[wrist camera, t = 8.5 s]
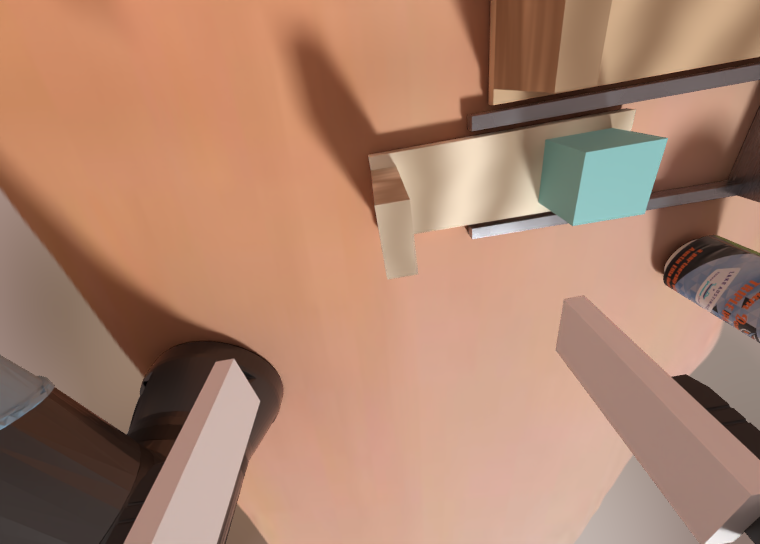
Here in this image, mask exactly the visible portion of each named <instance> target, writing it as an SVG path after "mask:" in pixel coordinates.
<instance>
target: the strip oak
mask: <svg viewBox="0 0 760 544" xmlns="http://www.w3.org/2000/svg"><path fill="white" fill-rule="evenodd" d="M755 57H760V0H491V13H490V57H489V101H488V104H489V105H497V104H503V103H508V102H514V101H519V100H525V99H530V98H536V97H541V96H547V95H552V94H558V93H563V92H569V91H574V90H580V89H585V88H591V87H596V86H602V85H607V84H613V83H618V82H624V81H629V80H635V79H640V78H646V77H651V76H657V75H662V74H668V73H673V72H679V71H684V70H690V69H695V68H700V67H706V66H711V65H717V64H722V63H728V62H733V61H739V60H744V59H750V58H755Z"/></svg>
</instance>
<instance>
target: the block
mask: <svg viewBox="0 0 760 544" xmlns="http://www.w3.org/2000/svg"><path fill="white" fill-rule="evenodd" d="M667 140H668V138H664V137H659V136H653V135H648V134H643V133H637V132H632V131H627V130H621V129H616V128H609V129H603V130H597V131H592V132H586V133H580V134H575V135H569V136H563V137H558V138H552V139H546V140H545V148H544V156H543V165H542V174H541V183H540V191H539V200H538V203H540V204H541V205H543V206H544V207H546V208H547V209H549V210H550V211H552V212H553V213H554V214H556V215H557V216H559V217H560V218H562V219H563V220H565V221H566V222H568V223H569V224H571V225H572V226H575V225H581V224H587V223H593V222H599V221H605V220H611V219H617V218H623V217H629V216H635V215H641V214H645V211H646V208H647V204H648V201H649V198H650V195H651V191H652V188H653V185H654V182H655V179H656V175H657V172H658V169H659V166H660V162H661V159H662V156H663V153H664V149H665V146H666V143H667Z"/></svg>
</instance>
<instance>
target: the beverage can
mask: <svg viewBox="0 0 760 544" xmlns="http://www.w3.org/2000/svg"><path fill="white" fill-rule="evenodd" d="M663 280H664V283H665V284H666V285H667V286H668V287H670V288H671V289H673V290H675V291H676V292H678V293H680V294H681V295H683V296H684V297H686V298H688V299H689V300H691V301H693V302H694V303H696V304H697V305H699V306H701V307H702V308H704V309H706V310H707V311H709V312H710V313H712V314H714V315H715V316H717V317H719V318H720V319H722V320H723V321H725V322H727V323H728V324H730V325H732V326H733V327H735V328H737V329H738V330H740V331H741V332H743V333H745V334H746V335H748V336H749V337H751V338H753V339H754V340H756V341H758V342H759V343H760V253H758V252H756V251H754V250H751V249H749V248H746V247H744V246H742V245H739V244H737V243H734V242H732V241H730V240H727V239H725V238H722V237H720V236H716V235H711V236H706V237H702V238H700V239H696V240H693V241H690V242H688V243H686V244H684V245H683V246H681V247H680V248H679V249H678V250H676V251H675V252H674V253H673V254H672V255H671V257H670V258H669V259H668V261H667V262H666V265H665V267H664V276H663Z"/></svg>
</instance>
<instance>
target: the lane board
mask: <svg viewBox="0 0 760 544" xmlns="http://www.w3.org/2000/svg"><path fill="white" fill-rule="evenodd" d="M756 80H760V62H757V63H751V64H746V65H740V66H735V67H729V68H724V69H718V70H713V71H707V72H702V73H696V74H691V75H685V76H680V77H674V78H669V79H663V80H658V81H652V82H647V83H641V84H636V85H630V86H625V87H619V88H614V89H608V90H603V91H597V92H592V93H586V94H581V95H575V96H569V97H564V98H558V99H553V100H547V101H542V102H536V103H531V104H525V105H520V106H514V107H509V108H503V109H498V110H492V111H487V112H481V113H476V114H470V115H467V129H468V130H470V131H477V130H482V129H488V128H494V127H499V126H505V125H510V124H516V123H521V122H527V121H533V120H538V119H544V118H549V117H555V116H560V115H566V114H572V113H577V112H583V111H588V110H594V109H599V108H605V107H611V106H616V105H622V104H627V103H633V102H638V101H644V100H650V99H655V98H661V97H666V96H672V95H677V94H683V93H689V92H694V91H700V90H705V89H711V88H716V87H722V86H728V85H733V84H739V83H744V82H750V81H756ZM736 195H737V196H740V197H744V198H747V199H750V200H754V201H757V202H760V107H759V109H758V112H757V114H756V116H755V118H754V121H753V123H752V125H751V128H750V130H749V132H748V135H747V137H746V139H745V142H744V144H743V146H742V148H741V151H740V153H739V155H738V158H737V160H736V162H735V165H734V167H733V169H732V172H731V174H730V176H729V178H728V180H726V181H720V182H714V183H708V184H702V185H696V186H690V187H684V188H678V189H672V190H666V191H660V192H654V193H651V195H650V198H649V201H648V204H647V208H646V210H651V209H657V208H663V207H669V206H676V205H682V204H688V203H694V202H700V201H706V200H712V199H718V198H724V197H730V196H736ZM567 223H568V222H566V221H565V220H563V219H562V218H560V217H559V216H557V215H556V214H554V213H553V212H552V211H549V212H543V213H537V214H531V215H525V216H519V217H513V218H507V219H501V220H495V221H489V222H483V223H477V224H471V225H468V234H469V235H470V237H471V238H472V239H476V238H482V237H488V236H494V235H500V234H507V233H513V232H519V231H525V230H531V229H537V228H543V227H549V226H555V225H561V224H567Z"/></svg>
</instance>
